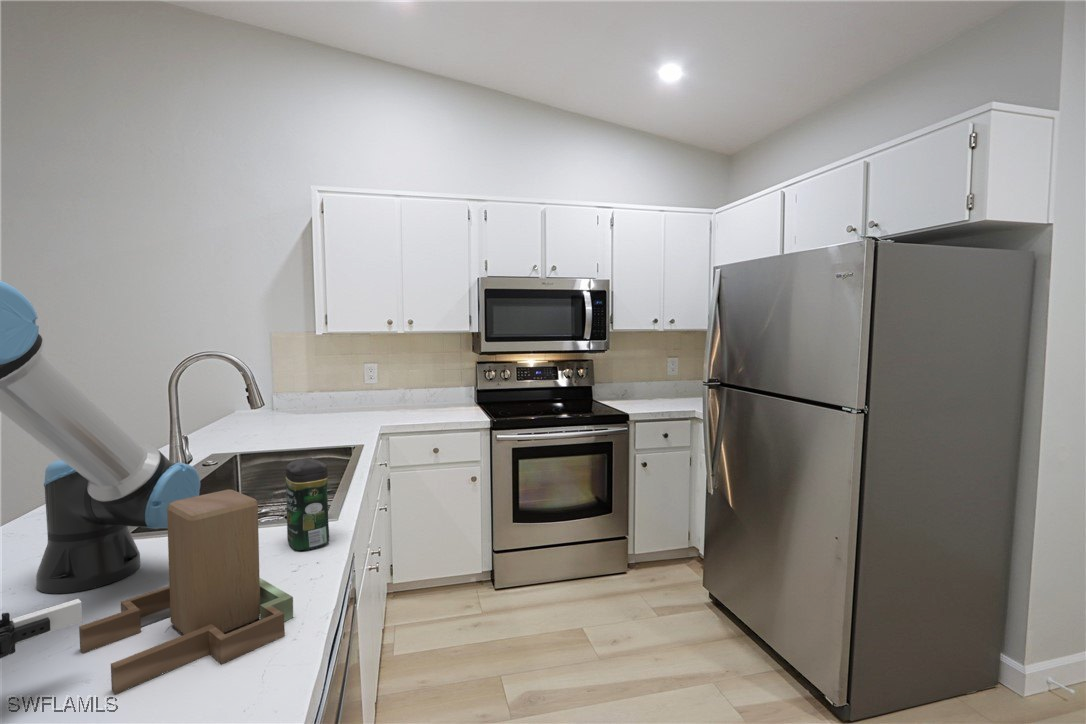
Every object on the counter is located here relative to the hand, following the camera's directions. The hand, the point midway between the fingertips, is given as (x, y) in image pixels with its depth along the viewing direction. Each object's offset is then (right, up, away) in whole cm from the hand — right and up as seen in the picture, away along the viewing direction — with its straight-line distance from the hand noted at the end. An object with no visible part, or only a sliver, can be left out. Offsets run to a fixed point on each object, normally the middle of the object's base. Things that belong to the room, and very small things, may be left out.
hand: (80, 610), depth 72 cm
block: (+10, -9, +14) cm, 19 cm away
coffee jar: (+10, -7, +46) cm, 48 cm away
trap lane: (+7, -9, +11) cm, 16 cm away
